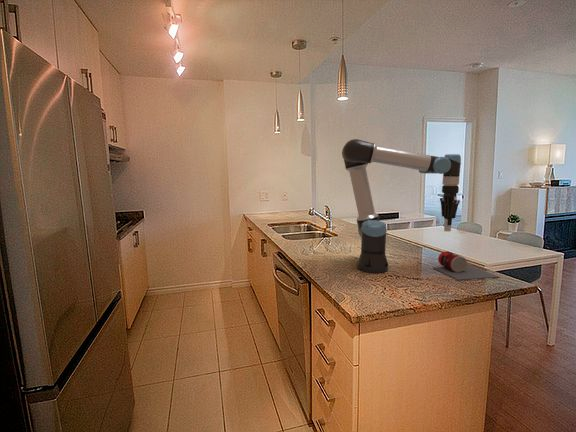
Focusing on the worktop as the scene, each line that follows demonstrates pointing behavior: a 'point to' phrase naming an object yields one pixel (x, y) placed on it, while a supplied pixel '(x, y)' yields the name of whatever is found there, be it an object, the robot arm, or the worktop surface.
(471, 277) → the rubber mat
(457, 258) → the canned food
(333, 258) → the worktop surface
